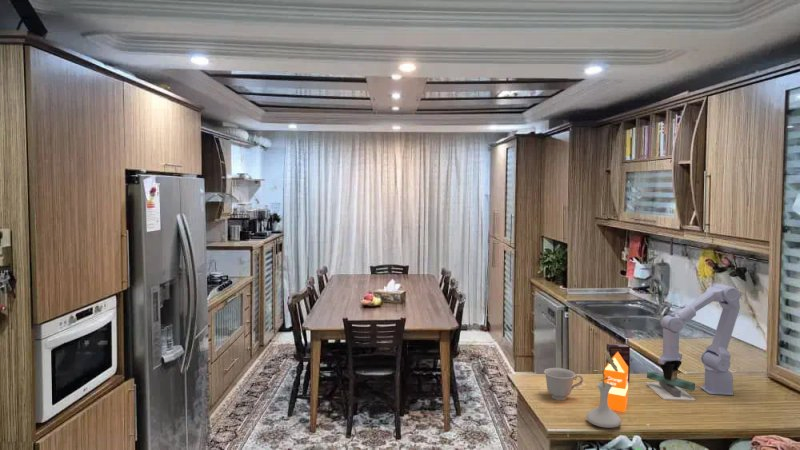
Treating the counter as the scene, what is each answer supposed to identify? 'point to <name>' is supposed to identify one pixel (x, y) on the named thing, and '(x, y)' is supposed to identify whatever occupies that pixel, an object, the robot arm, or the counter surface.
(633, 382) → the counter surface
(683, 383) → the bar
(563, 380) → the teacup
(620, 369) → the orange juice
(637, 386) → the counter surface
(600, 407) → the flower in vase
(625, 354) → the supplement box
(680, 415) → the counter surface
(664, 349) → the robot arm
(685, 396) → the ridge board
